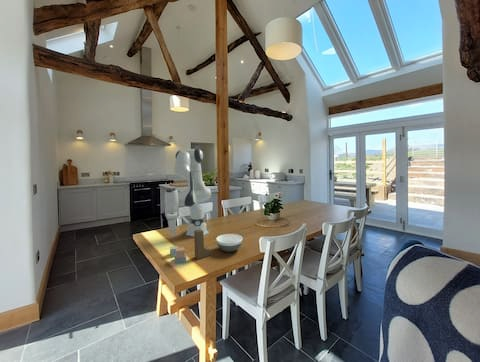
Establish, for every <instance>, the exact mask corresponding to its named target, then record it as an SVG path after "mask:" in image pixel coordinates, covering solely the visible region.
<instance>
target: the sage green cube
mask: <svg viewBox="0 0 480 362" xmlns="http://www.w3.org/2000/svg"><path fill="white" fill-rule="evenodd" d="M169 247H170V248H169V254H170V255H169V256H170V258H172V257H173V258H174V257H175V255H176V248H179V246H178V245H175V246H173V245H172V246H169Z"/></svg>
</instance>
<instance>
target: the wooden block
mask: <svg viewBox="0 0 480 362" xmlns="http://www.w3.org/2000/svg"><path fill="white" fill-rule="evenodd" d="M204 236H205V235H204V234H203V230H201V229H199V230H195V231H194V238H193V240H194V258H196V259H197V260H200V259H204V258H206V257H208V256H209V257H210V256H211V249H210V248H209V247H206V246H205V241H204V240H205V239H204Z"/></svg>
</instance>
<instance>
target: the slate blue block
mask: <svg viewBox="0 0 480 362" xmlns="http://www.w3.org/2000/svg"><path fill="white" fill-rule="evenodd" d="M184 254H185V258H181V259H176V255H175V256H174V264H175V265H176V264H183V263H187V254H186V253H184Z"/></svg>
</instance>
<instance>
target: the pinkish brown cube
mask: <svg viewBox="0 0 480 362" xmlns="http://www.w3.org/2000/svg"><path fill="white" fill-rule="evenodd" d="M185 254H186V253H185V247H178V248H176V259H181V258H185Z"/></svg>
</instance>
